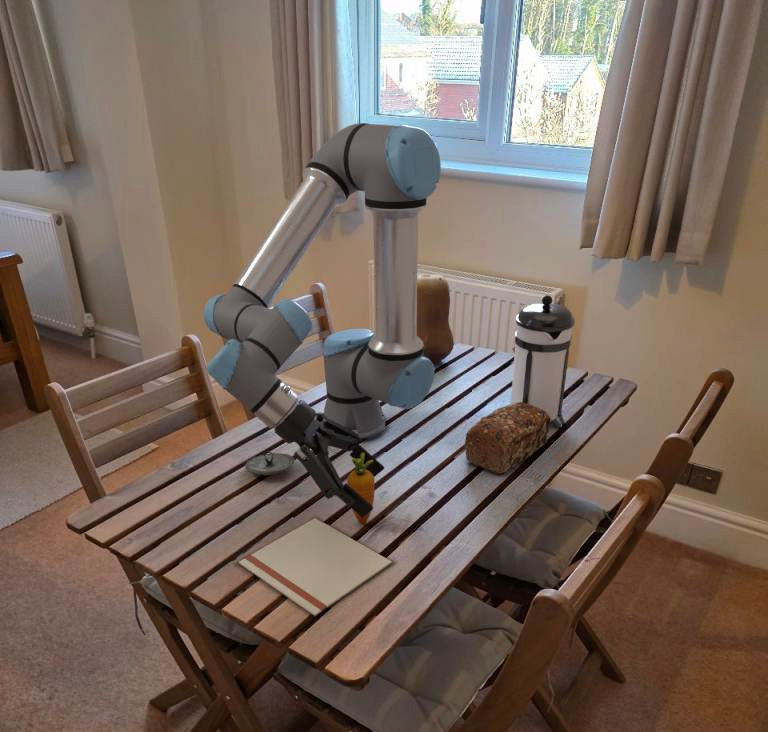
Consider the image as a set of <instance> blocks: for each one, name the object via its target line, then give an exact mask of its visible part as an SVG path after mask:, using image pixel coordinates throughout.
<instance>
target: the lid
mask: <svg viewBox="0 0 768 732" xmlns="http://www.w3.org/2000/svg"><path fill="white" fill-rule="evenodd" d="M295 461H296V458H295V456H292V455H290V454H288V453H281V452H271V451H270V450H267V451H264V452H263V454H261V455H257V456H254V457H252V458H250V459H249V460H247V462H246V463H245V470H246V471H247V472H248V473H250V474H253V475H258V476H272V475H276V474H279V473H283V472H285V471H287V470H289V469H290V468H291V467H292V466H294V464H295Z"/></svg>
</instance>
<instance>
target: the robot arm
mask: <svg viewBox="0 0 768 732" xmlns="http://www.w3.org/2000/svg"><path fill="white" fill-rule="evenodd" d="M441 169H442V165H441V156H440V152H439V149H438V145H437V144H436V141H435V140H434V139H432V136H431V135H430V134H429V133H428V132H427V131H426V130H424V129H423V128H420V127H416V126H409V125H407V124H381V123H380V124H377V123H367V122H365V123H364V122H358V123H354V124H350V125H348V126H346V127H343V128H342V129H340V130H338V131H337V132H336V133H335V134H333V135H332V136H331V137H330V138H329V139H328V140H327V141H326V142H325V143H324V144H322V145H321V147H320V148H319V149H318V150H317V152H316V153H315V154H314V155H313V157H312V158H311V159H310V160H309V162H308V163H307V164H306V166H305V168H304V169H303V171H302V175H301V176H302V182H301V184H300V185H299V186H298V188H297V189H296V191H295V192H294V194H293V195H292V196H291V198H290V200H289V201H288V203H287V204H286V206H285V207H284V209H283V210H282V212H281V213H280V214H279V216H278V217H277V219H276V221H275V222H274V224H273V225H272V226H271V228H270V230H268V232H267V234H266V236H265V237H264V238H263V240H262V241H261V243H260V244H259V246H258V247H257V249H256V251H254V253H253V254H252V256H251V257H250V259H249V260H248V262H247V263H246V265H245V267H244V268H243V270H242V271H241V272H240V274H239V275H238V277H237V279H236V280H235V282H234V283H233V285H232V286H231V287H230V289H229V290H228V292H227V293H226V294H224V293H223V294H216V295H214V296H212V297H210V299H208V301H207V302H206V304H205V306H204V310H203V320H204V323H205V325H206V327H207V329H209V331H211V333H214V334H216V335H218V336H220V337H221V338H223V339H225V340H228V341H227V342H226V343H225V345H223V346H222V348H220V350H219V351H218V352H216V354H215V355H214V356H213V357H212V358H211V360H210V361H209V362H208V363H207V366H206V372H207V374H208V375H209V376H210V377H211V378H212V379H213V380H214V381H215V382H216V383H217V384H218V385H220V386H221V388H222V389H223V390H225V391H226V392H227V393H228V394H230V395H231V396H232V397H234V399H236V400H237V401H238V402H240V403H241V404H242V405H243V406H244V407H246V409H248V410H249V411H250V412H251V413H252V414H253V416H255V417H256V418H257V419H258V420H260V421H261V422H262V423H263V424H264V425H265V426H266V427H268V428H269V429H273V428H274V429H273V432H274V433H275V435H277V436H278V437H279V438H280V439H282V441H284V442H285V443H286V444H292V443H295V444H297V445H298V448H297V450H296V451H295V452H294V453H293V457H294V458H295V459H296V460H297V461H299V462H300V463H301V464H302V467H304V469H305V470H306V471H307V472H308V475H309V476H310V477H311V479H312V480H313V481H314V483H315V484H316V486H317V487H318V488H319V490H320V491H321V493H322V494H323V496H324V497H325V498H326V499H327V500H331V499H332V498H333V497H337V498H338V499H340V501H342V502H343V503H344V504H346V505H347V506H348V507H349V508H350V509H351V510H352V509H353V510H354V511H355V512H356V513H358V514H359V515H360V516H361V517H362V518H363V517H364V516H365V515H366V514H368V513H369V512H370V511H371V512H372V511H373V510H374V506H372V505H371V504H370V503H368V502H367V501H366V500H365V499H364V498H363V497H362V496H360V495H359V494H358V493H357V492H356V491H355V490H354V489H352V488H351V487H350V486H349V485H348V484H347V482H346V483H344V484H343V481H342V479H341V478H340V476H339V473H338V472H337V470H336V468H335V466H334V464H333V462H332V460H331V458H330V457H329V455H330V452H329V447H332V448H335V449H339V450H341V451H342V450H343V451H345V452H346V451H347V452H350V453H349V456H350V457H351V458H352V459H353V458H356V460H357V459H360V455H361V453H365V456H364V463H363V464H364V465H365V464H366V462H367V461H369V460H373V461H374V462H373V463H371V464H369V465H368V466H367V468H366V470H368V471H369V472H370V473H371V474H372V475H373V476H374V478H376V477H377V476H378V475H379V474H380V473H381V472H382V471H384V470H385V466H384V465H383V464H382V463H381V462H380V461H379V460H377V459H376V458H375V457H374V456H373V455H372V454H371V453H370V452H369V451H368V450H366V449H365V448H364V447H363V446H362V445H361V444H362V442H363V441H365V440H368V439H372V438H374V437H377V436H379V435H380V434H381V433H382V432H383V431H384V430H385V429H386V415H385V413H384V411H383V408H382V406H381V403H382V402H383V403H385V404H386V405H387V404H388V405H389V407H395V408H400V409H403V410H410V409H413V408H415V407H416V406H418V405H419V404H421V403H422V402H423V400H424V399H425V398H426V397H427V395H428V394H429V392H430V390H431V388H432V386H433V383H434V379H435V372H436V371H435V365H433V363H432V362H431V361H430V360H429V359H428V358H426V357H423V346H424V345H423V341H422V340H421V339H420V338H419V337H418V336H417V335H416V330H417V275H418V262H419V261H418V255H419V254H418V253H419V251H418V250H419V215H420V213H421V212H423V210H424V209H425V208H426V207H427V199H428V198H429V197H430V196H432V195H433V193H434V192H435V191H436V189H437V184H438V183H439V182H440V178H441ZM359 191H361V192H364V206H365V208H366V209H367V210H368V211H369V213H371V215H372V217H373V219H372V222H373V223H372V224H373V227H372V228H373V275H374V277H373V278H374V279H373V280H374V283H373V284H374V286H373V287H374V330H372V329H369V328H350V329H345V330H340V331H337V332H334V333H331V334H329V335H328V336H327V337H326V338H325V339H324V341H323V354H322V356H323V365H324V367H323V368H324V377H325V390H326V401H325V404H324V409H323V412H321V411H319V412H317V411H316V410H315V409H314V408H313V407H312V406H311V405H309V404H308V402H306V401H305V400H302V399H300V400H299V395H298V394H297V393H295V392H294V391H293V390H292V387H290V386H289V385H286V383H284V382H283V380H282V379H280V377H278V376H277V375H276V373H277V372H278V371H279V370H280V368H281V367H282V366H283V365H284V364H285V363H286V362H287V360H289V358H290V357H291V356H292V355H293V354H294V353H295V352H296V350H298V348H299V347H300V346H301V345H303V342H304V341H305V339H306V338H307V337H308V335H309V334H310V333H311V331H312V330H313V320H312V318H311V317H310V315H309V313H308V312H307V311H306V309H304V308H303V307H302V306H301V305H300V304H299V303H298V302H296V301H294V300H292V299H288V298H284V299H280V300H279V301H278V303H276V304H275V305H273V307H272V309H271V308H269V307H270V306H271V304H273V301H274V300H275V299H276V297H277V296H278V294H279V292H280V291H281V290H282V288H283V286H284V285H285V283H286V282H287V280H288V279H289V277H290V276H291V274H292V273H293V271H294V269H295V268H296V267H297V265H298V264H299V262H300V261H301V259H302V258H303V256H304V255H305V253H306V252H307V250H308V249H309V247H310V246H311V244H312V243H313V241H314V240H315V238H316V237H317V235H318V234H319V232H320V230H321V229H322V228H323V226H324V225H325V223H326V222H327V220H328V219H329V217H330V216H331V214H332V213H333V211H334V210H335V208H336V207H342V206H343V205H345V203H346V202H347V201H348V199H349V197H350V196H352V195H353V194H355V193H356V192H359ZM380 402H381V403H380ZM353 510H352V511H353Z"/></svg>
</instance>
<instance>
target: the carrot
mask: <svg viewBox="0 0 768 732" xmlns="http://www.w3.org/2000/svg"><path fill="white" fill-rule="evenodd" d="M364 456H365V453H361V455H360V459H357V460H356V458H352V460H351V462H352V463H353V465H354V468H355V470H352V471H350V473H349V475H348V476H347V479H346V483H347V484H348V485H349V486H350V487H351V488H352V489H354V490H355V491H356V492H357V493H358V494H359V495H360V496H362V497H363V498H364V499H365V500H366V501H367V502H368V503H370V504H371V505H372V506H373V505H374V501H375V477H374V476H373V475H372V474H371V473H370V472H369V471H368V470H366V468H367V466H368V465H369V464H371V463H373V462H374V461H373V460H369V461H367V462H366V464H365V465H364V464H363V463H364ZM373 507H374V506H373ZM351 511H352V512H353V515H354V517H355V518H356V520H357V521H358V523H359V524H360V525H362V526H363V525H365V524H366V523H367V521H368V520H369V518H370V515H371V513H372V510H371V511H370V512H369V513H368V514H366V515H365V516H364V517H363V518H362V517H361V516H360V515H359V514H358V513H356V512H355V511H354V510H353V509H352V508H351Z"/></svg>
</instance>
